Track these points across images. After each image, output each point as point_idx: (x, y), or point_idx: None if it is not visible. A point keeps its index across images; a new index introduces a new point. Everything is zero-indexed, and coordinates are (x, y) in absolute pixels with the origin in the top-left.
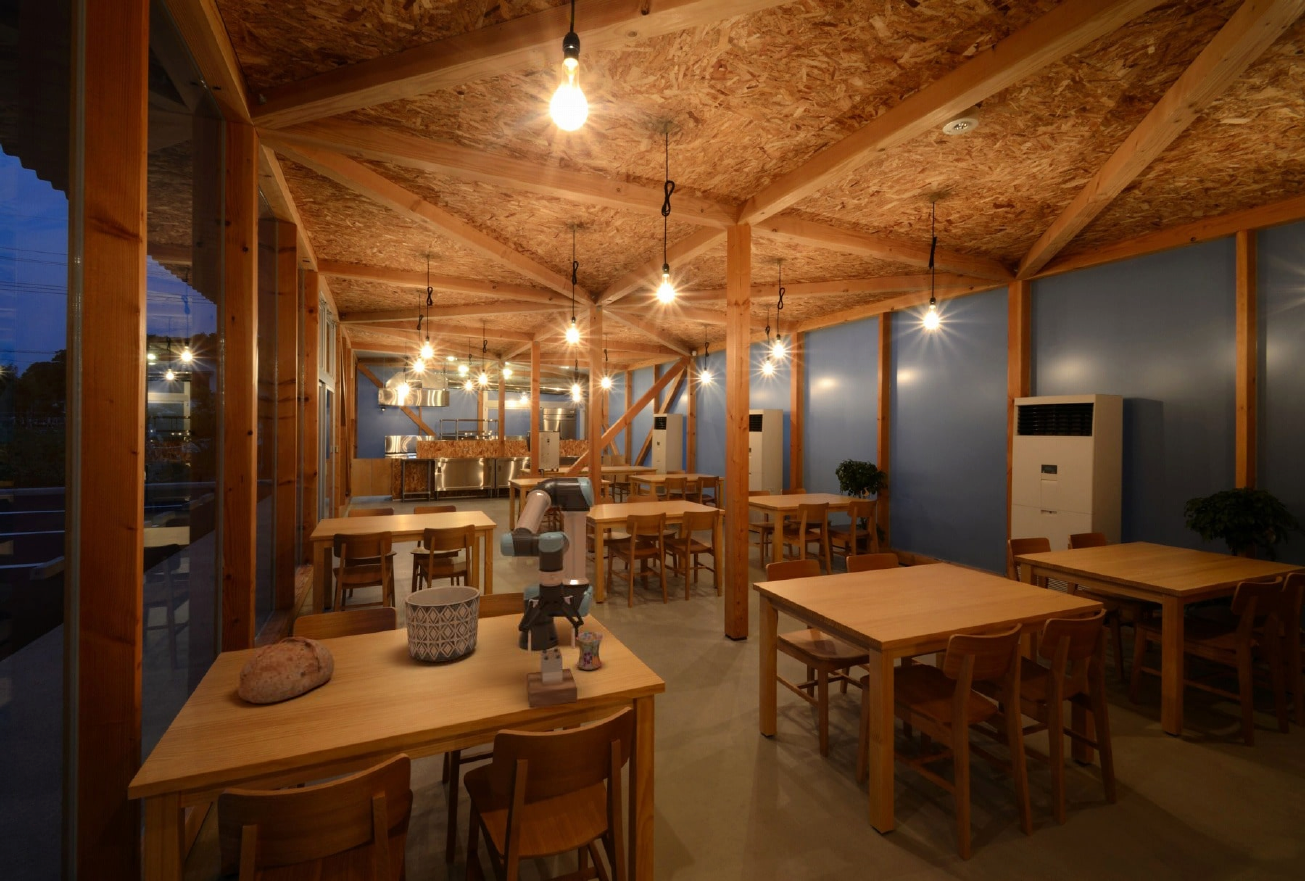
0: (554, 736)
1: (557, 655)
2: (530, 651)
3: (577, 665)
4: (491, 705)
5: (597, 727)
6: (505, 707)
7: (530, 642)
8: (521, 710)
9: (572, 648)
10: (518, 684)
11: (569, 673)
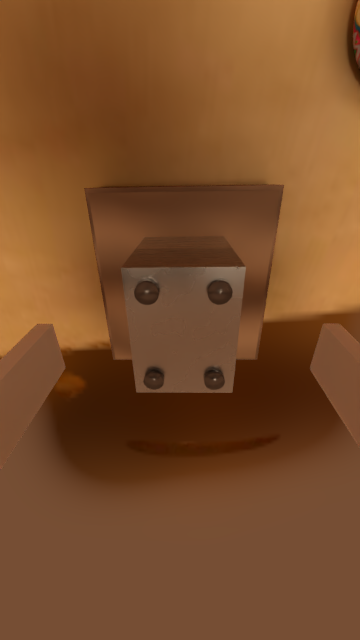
0: (172, 443)
1: (212, 377)
2: (56, 377)
3: (355, 18)
4: (12, 299)
5: (257, 438)
6: (55, 320)
7: (26, 424)
8: (101, 344)
9: (311, 369)
10: (66, 159)
11: (264, 247)
